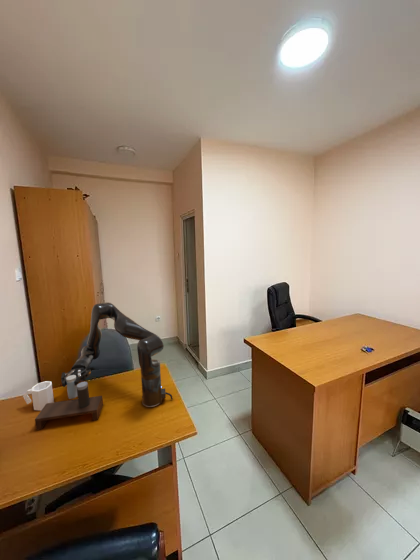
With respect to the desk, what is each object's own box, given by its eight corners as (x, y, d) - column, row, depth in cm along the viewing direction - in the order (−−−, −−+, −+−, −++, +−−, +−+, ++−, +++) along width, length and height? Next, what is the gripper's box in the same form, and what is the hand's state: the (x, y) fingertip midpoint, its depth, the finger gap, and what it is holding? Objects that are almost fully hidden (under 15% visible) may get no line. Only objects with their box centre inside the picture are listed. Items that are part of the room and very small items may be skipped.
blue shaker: (79, 392, 114) (77, 374, 112) (76, 398, 109) (74, 379, 108) (70, 393, 113) (68, 375, 111) (66, 399, 109) (64, 380, 107)
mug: (57, 397, 116) (54, 379, 114) (50, 408, 108) (47, 389, 106) (29, 401, 113) (27, 383, 111) (20, 414, 104) (17, 394, 103)
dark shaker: (90, 400, 105) (88, 380, 104) (88, 407, 101) (85, 386, 100) (80, 402, 105) (78, 382, 103) (77, 408, 100) (75, 388, 99)
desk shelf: (103, 404, 110) (102, 395, 109) (97, 419, 100) (96, 409, 99) (47, 413, 105) (46, 403, 104) (36, 429, 95) (34, 419, 94)
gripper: (66, 361, 122) (51, 379, 105) (95, 358, 125) (85, 375, 108) (67, 374, 123) (53, 393, 106) (96, 370, 126) (86, 389, 109)
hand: (69, 384), depth 107 cm, fingers closed on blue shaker, 4 cm apart
